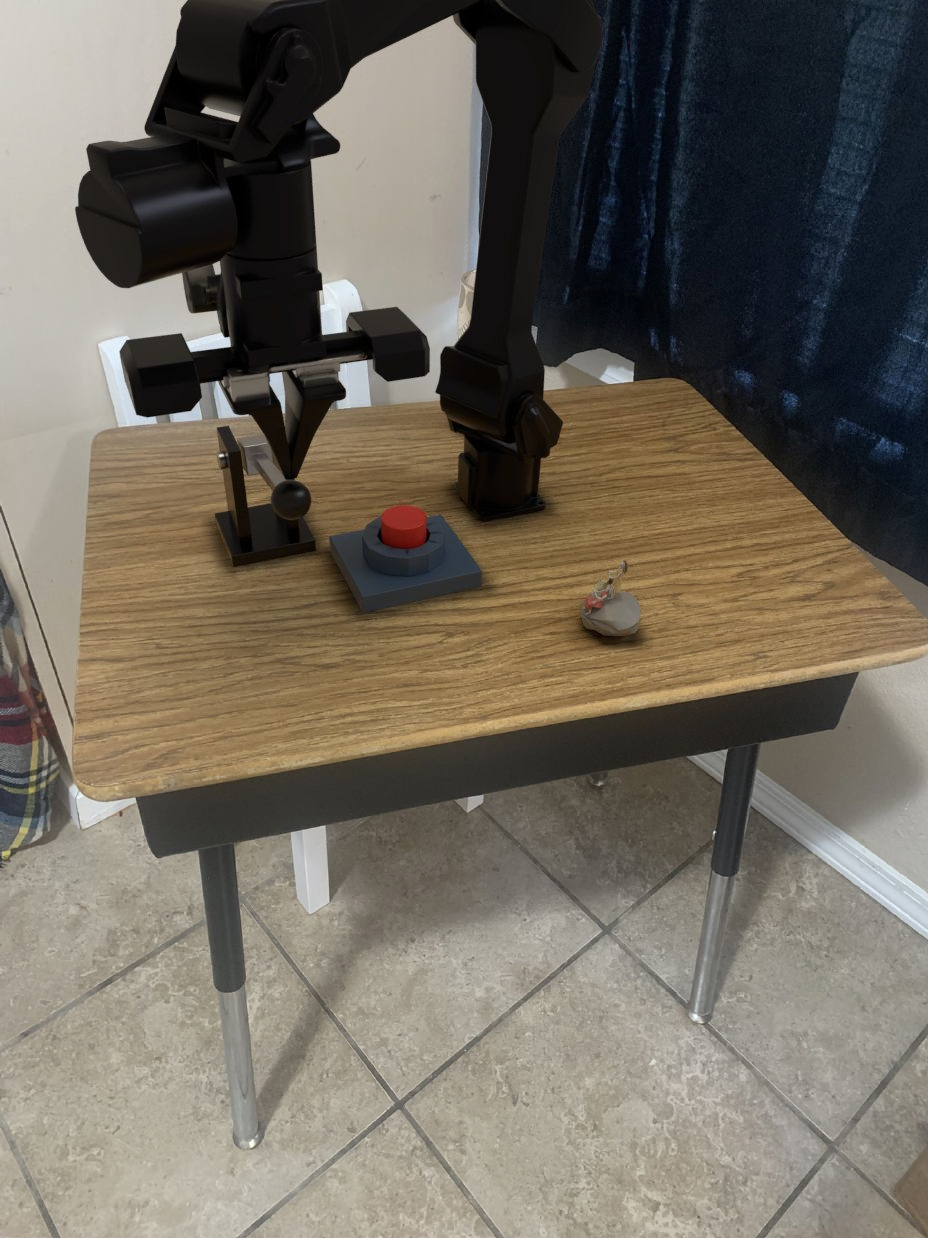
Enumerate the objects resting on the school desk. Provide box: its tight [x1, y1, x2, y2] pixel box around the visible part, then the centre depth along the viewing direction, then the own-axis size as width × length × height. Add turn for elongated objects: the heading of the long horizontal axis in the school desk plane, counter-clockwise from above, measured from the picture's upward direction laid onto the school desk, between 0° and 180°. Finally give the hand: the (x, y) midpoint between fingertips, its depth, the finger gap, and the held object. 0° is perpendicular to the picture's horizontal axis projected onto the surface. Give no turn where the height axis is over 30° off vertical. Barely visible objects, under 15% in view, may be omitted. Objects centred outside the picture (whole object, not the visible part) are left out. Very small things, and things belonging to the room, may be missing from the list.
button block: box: [328, 514, 483, 614], centre depth 79 cm, size 10×9×4 cm
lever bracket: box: [214, 425, 317, 568], centre depth 80 cm, size 7×7×10 cm
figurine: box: [580, 559, 642, 637], centre depth 73 cm, size 5×4×6 cm
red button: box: [380, 504, 428, 549], centre depth 78 cm, size 4×4×2 cm
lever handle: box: [236, 433, 312, 520], centre depth 73 cm, size 15×3×3 cm, turn 23°
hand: (289, 476), depth 67 cm, fingers closed
